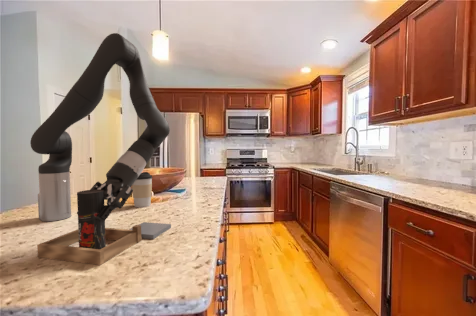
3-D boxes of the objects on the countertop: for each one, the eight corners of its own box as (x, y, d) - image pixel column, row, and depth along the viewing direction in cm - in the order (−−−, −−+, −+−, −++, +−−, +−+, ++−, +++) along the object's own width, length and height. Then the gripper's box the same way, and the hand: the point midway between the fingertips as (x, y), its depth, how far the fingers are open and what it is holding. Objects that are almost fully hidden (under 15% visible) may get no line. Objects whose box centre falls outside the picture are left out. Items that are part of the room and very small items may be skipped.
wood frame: (36, 256, 58) (36, 239, 57) (86, 235, 71) (86, 221, 71) (101, 265, 53) (101, 245, 53) (141, 240, 67) (141, 225, 67)
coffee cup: (145, 208, 103) (144, 174, 103) (127, 207, 105) (126, 173, 105) (156, 203, 112) (156, 171, 112) (139, 202, 114) (138, 171, 113)
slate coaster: (123, 236, 71) (123, 232, 71) (143, 225, 80) (143, 222, 80) (153, 239, 68) (153, 235, 68) (170, 227, 78) (170, 224, 78)
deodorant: (110, 245, 64) (109, 190, 63) (90, 254, 59) (88, 194, 58) (94, 242, 66) (92, 189, 65) (73, 251, 60) (71, 192, 60)
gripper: (103, 160, 72) (62, 207, 62) (135, 161, 65) (95, 213, 56) (120, 176, 77) (84, 221, 67) (151, 178, 70) (117, 229, 60)
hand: (89, 217), depth 61 cm, fingers open, 8 cm apart
